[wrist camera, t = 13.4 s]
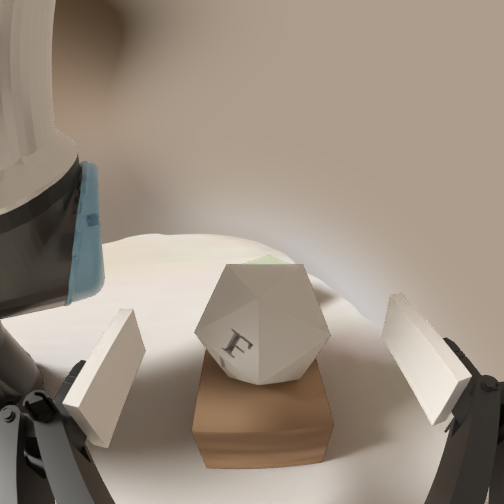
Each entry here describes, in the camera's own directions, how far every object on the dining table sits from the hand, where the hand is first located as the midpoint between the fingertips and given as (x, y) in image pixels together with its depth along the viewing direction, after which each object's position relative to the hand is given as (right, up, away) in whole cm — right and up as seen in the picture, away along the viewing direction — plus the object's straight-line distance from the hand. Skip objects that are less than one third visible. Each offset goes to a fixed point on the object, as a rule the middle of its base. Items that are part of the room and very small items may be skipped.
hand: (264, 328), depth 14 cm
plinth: (0, -11, +10) cm, 14 cm away
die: (0, -5, +7) cm, 9 cm away
